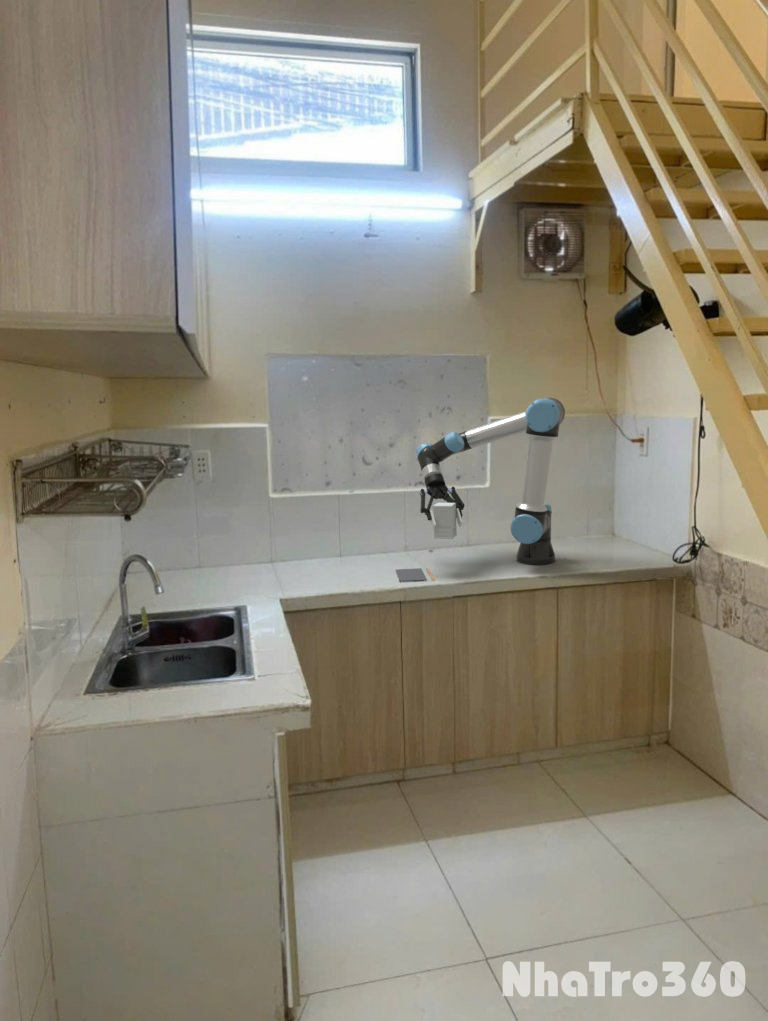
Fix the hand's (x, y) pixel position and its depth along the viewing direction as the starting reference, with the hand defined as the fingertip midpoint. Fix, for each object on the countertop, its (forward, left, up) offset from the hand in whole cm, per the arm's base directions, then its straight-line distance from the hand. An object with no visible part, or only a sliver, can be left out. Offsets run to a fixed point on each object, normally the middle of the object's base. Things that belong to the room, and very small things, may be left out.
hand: (447, 525), depth 255 cm
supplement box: (0, -3, -5) cm, 6 cm away
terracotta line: (+7, -1, -19) cm, 20 cm away
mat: (+14, -1, -19) cm, 23 cm away
